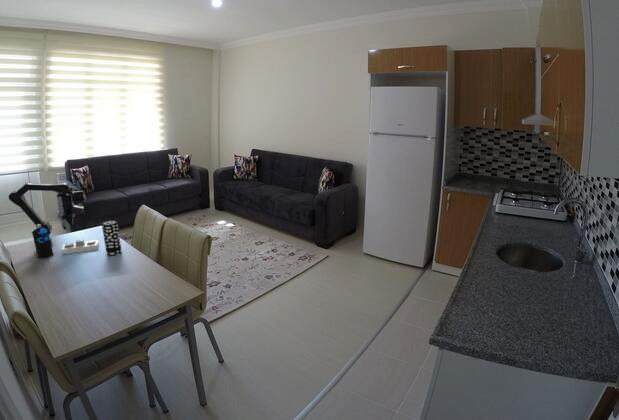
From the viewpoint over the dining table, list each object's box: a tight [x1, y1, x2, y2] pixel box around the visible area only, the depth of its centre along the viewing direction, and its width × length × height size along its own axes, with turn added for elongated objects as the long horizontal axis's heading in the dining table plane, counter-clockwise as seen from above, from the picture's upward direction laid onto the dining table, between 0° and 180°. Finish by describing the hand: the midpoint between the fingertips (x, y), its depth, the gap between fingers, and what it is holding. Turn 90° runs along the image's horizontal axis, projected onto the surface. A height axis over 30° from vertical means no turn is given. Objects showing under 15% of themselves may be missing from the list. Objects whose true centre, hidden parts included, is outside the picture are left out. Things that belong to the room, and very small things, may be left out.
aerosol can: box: [31, 224, 55, 259], centre depth 215 cm, size 8×8×20 cm
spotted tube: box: [101, 220, 123, 257], centre depth 219 cm, size 8×8×20 cm
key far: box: [86, 239, 96, 245], centre depth 230 cm, size 4×4×3 cm
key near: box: [64, 242, 74, 248], centre depth 225 cm, size 4×4×3 cm
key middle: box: [75, 238, 85, 246], centre depth 227 cm, size 4×4×3 cm
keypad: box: [61, 239, 100, 255], centre depth 228 cm, size 19×9×3 cm, turn 116°
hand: (71, 225), depth 234 cm, fingers closed
